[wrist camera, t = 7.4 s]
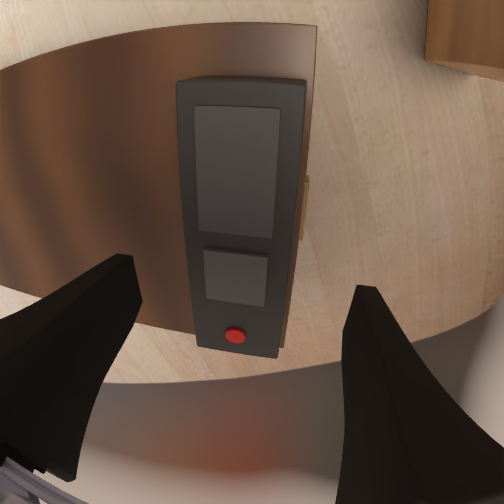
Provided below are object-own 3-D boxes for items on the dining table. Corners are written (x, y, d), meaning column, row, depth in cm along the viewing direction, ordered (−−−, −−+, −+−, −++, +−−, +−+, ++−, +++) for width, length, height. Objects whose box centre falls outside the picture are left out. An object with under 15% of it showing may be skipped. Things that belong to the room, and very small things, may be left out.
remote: (200, 75, 11) (171, 81, 9) (307, 79, 10) (307, 85, 8) (210, 311, 18) (195, 349, 15) (282, 321, 17) (276, 362, 15)
